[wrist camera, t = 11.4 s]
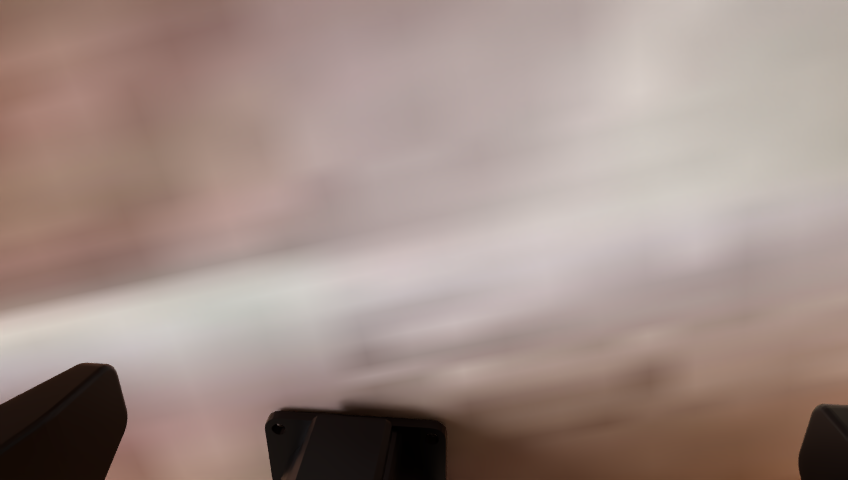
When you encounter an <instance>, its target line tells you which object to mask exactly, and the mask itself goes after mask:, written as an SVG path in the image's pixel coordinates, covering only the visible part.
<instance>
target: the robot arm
mask: <svg viewBox="0 0 848 480" xmlns="http://www.w3.org/2000/svg"><path fill="white" fill-rule="evenodd" d="M277 424H281V425H283V426H284V427H280V426H278V425H277ZM126 425H127V409H126V405H125V401H124V397H123V394H122V390H121V386H120V382H119V378H118V375H117V372H116V370H115V369H114V367H113V366H111V365H109V364H98V363H81V364H78V365H76V366H74V367H72V368H70V369H68V370H66V371H64V372H62V373H61V374H59V375H57V376H55V377H53V378H51V379H49V380H47V381H45V382H43V383H41V384H39V385H37V386H36V387H34V388H32V389H30V390H28V391H26V392H24V393H22V394H20V395H18V396H16V397H14V398H12V399H10V400H9V401H7V402H5V403H3V404H1V405H0V480H105V477H106V475H107V473H108V470H109V468H110V465H111V463H112V461H113V458H114V456H115V453H116V451H117V449H118V446H119V444H120V441H121V439H122V436H123V434H124V432H125V429H126ZM265 432H266V438H267V445H268V452H269V459H270V466H271V472H272V479H273V480H446V475H447V431H446V427H445V426H444V425H443V424H442V423H440V422H438V421H434V420H420V419H404V418H388V417H371V416H355V415H339V414H322V413H306V412H289V411H275V412H273V413H271V414H270V416H269V417H268V420H267V422H266V424H265ZM431 433H432V434H436V435H437V436H434V437H432V436H429V435H428V434H431ZM798 462H799V472H800V476H801V480H848V405H833V404H821V405H818V406H817V407H816V408H815V409H814V410H813V412H812V415H811V418H810V421H809V424H808V427H807V430H806V433H805V437H804V440H803V443H802V446H801V449H800V453H799V460H798Z"/></svg>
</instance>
